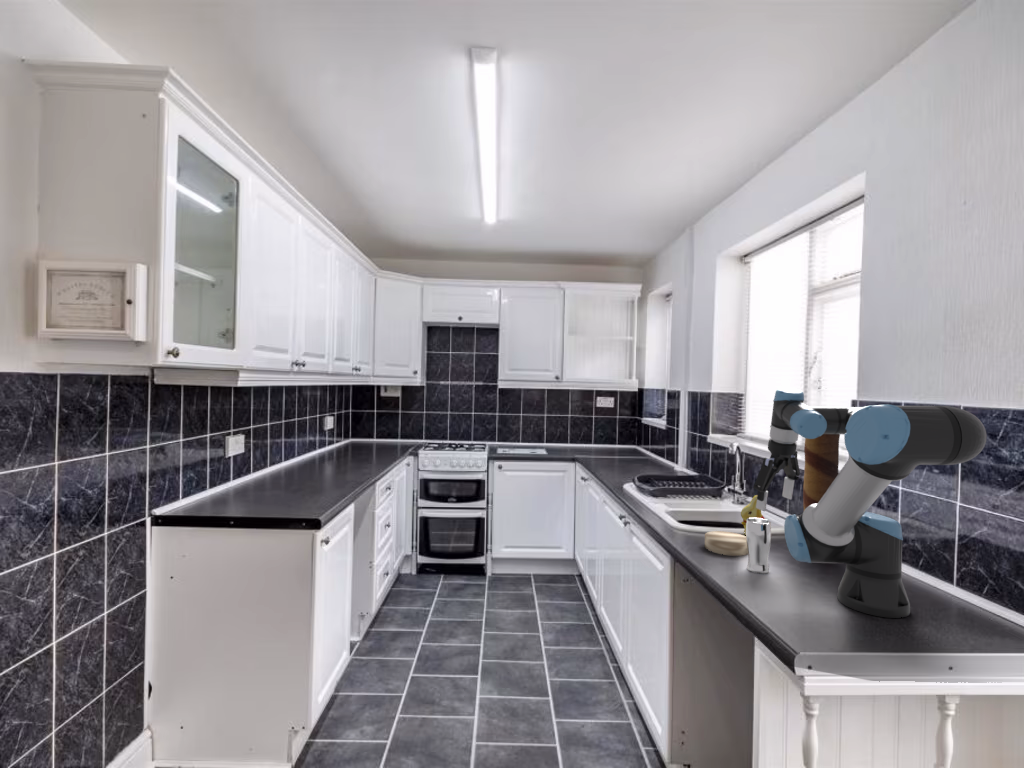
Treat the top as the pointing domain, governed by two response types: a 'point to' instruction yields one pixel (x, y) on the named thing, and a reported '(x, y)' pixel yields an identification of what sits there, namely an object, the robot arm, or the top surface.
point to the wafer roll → (820, 466)
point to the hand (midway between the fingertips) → (774, 503)
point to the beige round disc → (726, 543)
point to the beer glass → (758, 544)
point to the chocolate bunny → (750, 512)
